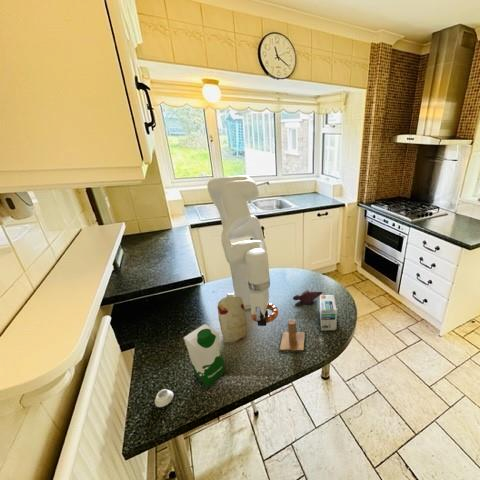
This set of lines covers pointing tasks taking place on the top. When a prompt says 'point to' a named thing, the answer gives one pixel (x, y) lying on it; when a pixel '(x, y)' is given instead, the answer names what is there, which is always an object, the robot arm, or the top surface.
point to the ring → (271, 316)
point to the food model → (232, 318)
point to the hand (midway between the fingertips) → (263, 321)
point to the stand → (292, 338)
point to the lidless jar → (163, 397)
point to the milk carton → (205, 354)
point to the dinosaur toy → (306, 297)
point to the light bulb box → (328, 312)
